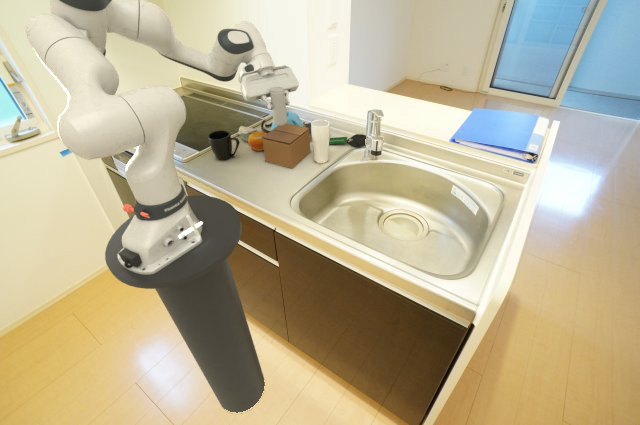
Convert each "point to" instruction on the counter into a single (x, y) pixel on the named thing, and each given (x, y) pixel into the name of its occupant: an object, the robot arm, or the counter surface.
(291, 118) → the teapot
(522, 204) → the counter surface
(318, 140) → the drinking glass
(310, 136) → the bone model
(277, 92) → the beverage can
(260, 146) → the fruit
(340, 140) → the business card
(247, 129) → the arrowhead
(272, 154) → the carton
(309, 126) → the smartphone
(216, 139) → the mug
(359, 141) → the rock
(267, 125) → the brown curved piece
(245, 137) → the rock
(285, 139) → the flap
